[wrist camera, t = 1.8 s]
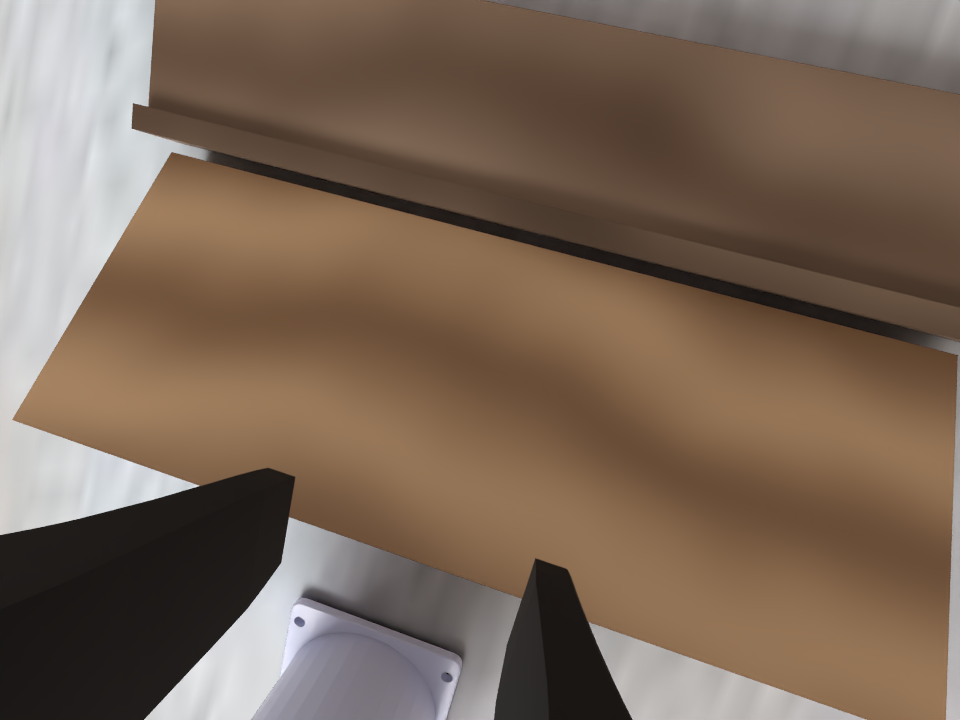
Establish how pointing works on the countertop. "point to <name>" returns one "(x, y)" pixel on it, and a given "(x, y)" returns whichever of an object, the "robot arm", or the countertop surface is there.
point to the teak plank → (536, 426)
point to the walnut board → (588, 139)
